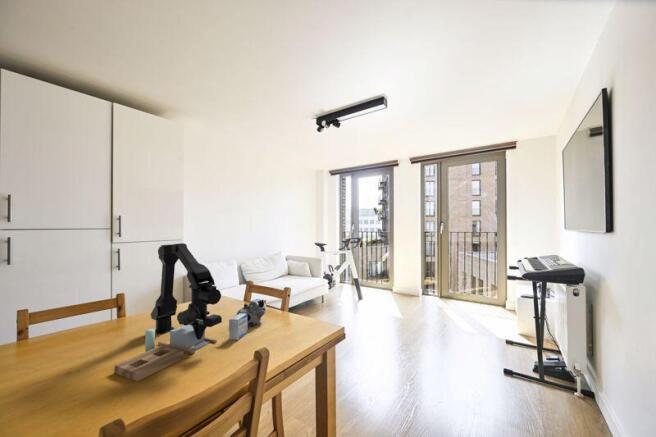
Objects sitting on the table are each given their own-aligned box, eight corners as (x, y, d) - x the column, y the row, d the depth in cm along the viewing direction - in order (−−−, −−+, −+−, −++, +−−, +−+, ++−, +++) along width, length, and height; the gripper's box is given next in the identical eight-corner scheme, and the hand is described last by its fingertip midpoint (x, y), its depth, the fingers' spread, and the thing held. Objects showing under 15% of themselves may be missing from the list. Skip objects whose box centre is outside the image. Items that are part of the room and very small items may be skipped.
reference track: (157, 344, 110) (157, 342, 110) (182, 334, 121) (182, 331, 121) (193, 354, 102) (193, 351, 102) (216, 342, 113) (216, 339, 113)
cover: (169, 344, 109) (169, 330, 109) (189, 336, 117) (189, 323, 118) (185, 348, 106) (185, 334, 106) (204, 339, 114) (204, 326, 114)
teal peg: (143, 355, 102) (143, 331, 102) (151, 351, 105) (151, 328, 105) (148, 356, 101) (148, 332, 101) (156, 353, 103) (156, 329, 103)
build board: (114, 372, 90) (114, 365, 90) (161, 351, 105) (161, 345, 105) (137, 381, 85) (137, 373, 85) (183, 358, 100) (183, 351, 100)
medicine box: (238, 340, 114) (238, 319, 114) (228, 339, 115) (228, 319, 115) (247, 333, 122) (247, 313, 122) (238, 332, 123) (238, 312, 123)
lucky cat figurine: (241, 317, 142) (254, 292, 145) (261, 328, 139) (274, 302, 143) (229, 318, 128) (243, 290, 131) (250, 330, 125) (265, 302, 128)
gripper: (164, 302, 106) (164, 343, 105) (199, 309, 98) (199, 352, 98) (189, 295, 116) (189, 332, 116) (222, 300, 108) (222, 340, 108)
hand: (199, 339), depth 109 cm, fingers closed
